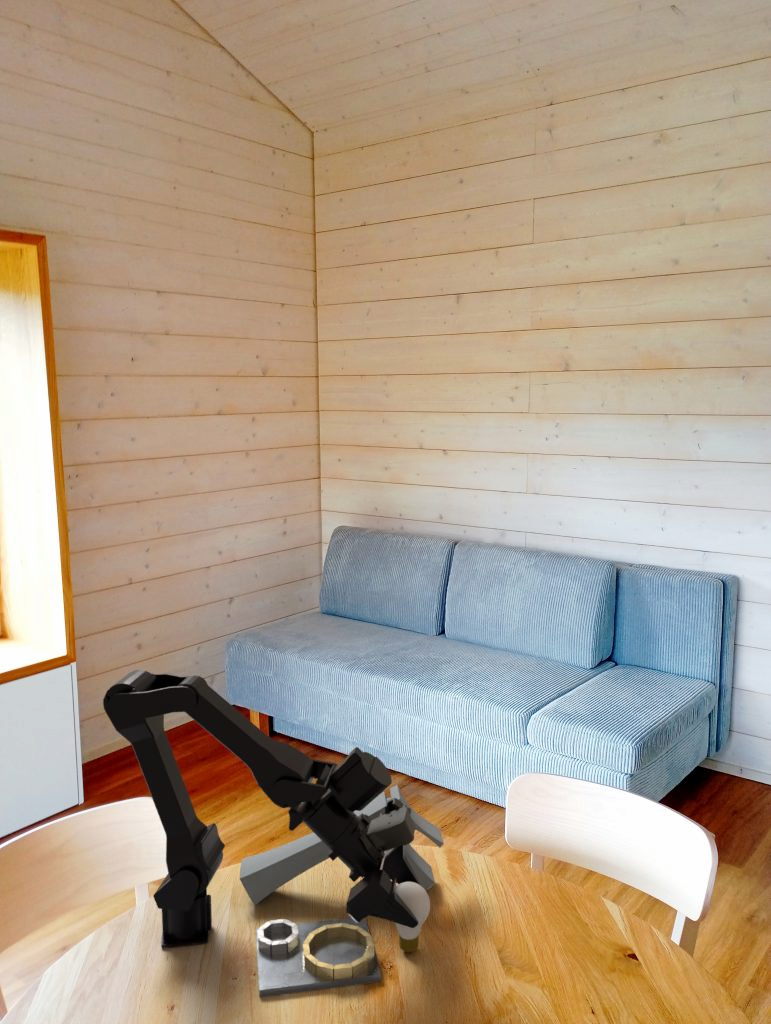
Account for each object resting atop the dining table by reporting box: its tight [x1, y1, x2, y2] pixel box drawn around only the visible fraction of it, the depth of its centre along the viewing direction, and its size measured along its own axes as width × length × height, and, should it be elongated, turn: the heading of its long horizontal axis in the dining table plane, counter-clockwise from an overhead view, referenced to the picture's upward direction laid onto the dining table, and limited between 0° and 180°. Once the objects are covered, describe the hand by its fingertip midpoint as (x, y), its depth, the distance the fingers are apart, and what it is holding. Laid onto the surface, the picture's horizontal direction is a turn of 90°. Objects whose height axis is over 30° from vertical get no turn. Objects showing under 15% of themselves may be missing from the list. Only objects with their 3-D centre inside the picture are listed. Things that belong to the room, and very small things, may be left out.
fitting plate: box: [255, 917, 382, 998], centre depth 118 cm, size 16×13×2 cm
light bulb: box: [394, 882, 431, 954], centre depth 119 cm, size 6×6×10 cm
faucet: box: [239, 784, 444, 906], centre depth 134 cm, size 6×17×30 cm
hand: (418, 908), depth 119 cm, fingers open, 7 cm apart
